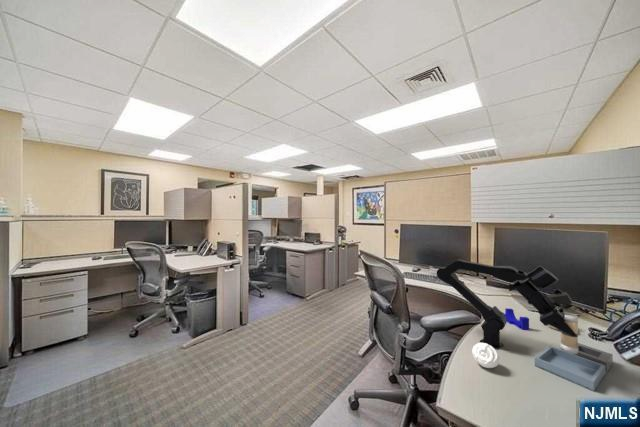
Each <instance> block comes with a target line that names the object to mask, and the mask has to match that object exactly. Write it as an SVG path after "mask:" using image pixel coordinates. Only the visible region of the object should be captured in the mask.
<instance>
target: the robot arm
mask: <svg viewBox="0 0 640 427" xmlns="http://www.w3.org/2000/svg"><path fill="white" fill-rule="evenodd" d="M459 270H464V271H470V272H475V273H479V274H483V275H488V276H492V277H493V278H494V277H495V278H497V279H498V280H501V281H504V282H506V283H507V282H508V291H509V292H512V291H514V290H516V291H517V293H519V294H520V295H521V296H522V297H523V298H524V299H525V300H526V301H527V303H528V304H529V305H531V306H533V308H535V309H536V310H537V313H538V314H539V315H540V316H539V322H540V323H542V325H543V326H545V327H548V326H547V325H551V326H553V327H555V328H557V329H559V330H558V331H560V332H561V331H563V332H565V333H567V334H569V335H571V336H573V337H575V336H577V335H576V334H575V332H574V331H573V330H572V329H571V328H570V326H569V325H568V324H567V323H566V322H565V321H564V314H561V312H564V308H563V307H562V306H563V305H572V304H573V300H572V298H571V297H570V295H569V293H568V292H567V291H562V290H561V289H554V290H553V293H551V294H547V293H545V292H543V291H541V290H539V289H541V288H542V289H546V288H547V287H550V286H551V285H553V284H555V283H557V282H558V281H559V278H558V277H557V276H555V274H553V272H551V271H550V270H547V269H546V268H544V267H543V266H542V265H539V266H537V267H536V268H535V269H533V270H532V271H529V272H527V271H523V270H519V269H518V268H516V267H514V266H512V265H491V264H490V265H489V264H484V263H481V262H480V263H478V262H473V261H468V260H464V259H461V258H460V259H457V260H454V262H452V263H451V264H449V265H447V266H442V267H440V268H437V270H436V276H437V278H438V279H439V280H441V281H442V282H443V283H445V284H447V285H449V286H450V287H453V288H454V290H455V291H456V292H457V293H459V294H460V295H461V296H462V297H463V298H464V299H465V300H466V301H467V302H469V304H470V305H471V306H473V307H474V308H475V309H476V310H477V311H478V312H479V314H480V315H481V317H482V318H483V320H484V321H483V322H482V323H481V325H480V327H481V329H482V332H483V333H482V334H483V336H482V339H480V340H479V343H487V344H488V345H491V346H492V347H493V348H494V349H495V350H498V349H499V348H501V347H503V346H504V345H505V344H504V343H502V342H501V334H500V333H501V332H500V331H502V330H504V329H505V327H506V326H507V325H506V324H507V323H508V322H507V320H506V317H505V316H504V314H505V313H504V312H502V311H501V310H500V309H499V308H498V307H497V306H496V305H494V306H490V305H488V304H487V303H486V302H485V301H483V300H482V299H481V298H480V297H479V296H478V295H476V294H475V293H474V292H473V291H472V290H471V289H470V288H469V287H468V286H467V285H465V283H463V282H462V281H461V279H459V277H458V275H457V274H456V272H457V271H459ZM453 288H452V289H453ZM538 288H539V289H538ZM558 307H561V308H558Z"/></svg>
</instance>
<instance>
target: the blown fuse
mask: <svg viewBox="0 0 640 427" xmlns="http://www.w3.org/2000/svg"><path fill="white" fill-rule="evenodd" d="M561 314H564V321H565V322H566V323H567V324H568V325H569V326H570V328H571V329H572V330H573V331H574V332H575V334H576V335H577V336H575V337H573V336H571V335H569V334H567V333H565V332H563V331H561V330H560V350H563V351H565V352H568V353H571V354H578V343H579V342H578V341H579V332H578V330H579V329H578V327H579V326H578V324H579V316H578V315H576V314H574V313H571V312H565V311H563V312H561Z"/></svg>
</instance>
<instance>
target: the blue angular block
mask: <svg viewBox="0 0 640 427" xmlns="http://www.w3.org/2000/svg"><path fill="white" fill-rule="evenodd" d="M504 312H505V313H504V316H505V317H506V320H507V322H506V323H508V324H510V325H514V326H515V327H517V328H518V329H520V330H522V331H530V318H529V317H527V316H519V320H518V318H516V315H515V311H514V309H512V308H507V307H505V311H504Z"/></svg>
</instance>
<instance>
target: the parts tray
mask: <svg viewBox="0 0 640 427" xmlns="http://www.w3.org/2000/svg"><path fill="white" fill-rule="evenodd" d="M534 366H535V367H536V368H538V369H541V370H543V371H546V372H548V373H550V374H553V375H554V376H557V377H559V378H562V379H564V380H567V381H569V382H571V383H572V384H574V385H578V386H580V387H582V388H585V389H587V390H588V391H592V392H595V391H596V389H597V388H598V387H599V385H600V383H601V382H602V381H603V379H604V378H605V376H606V374H607V372H605V365H602V364H599V363H596V362H594V361H591V360H588V359H585V358H582V357H580V356H577V355H574V354H571V353H568V352H565V351H563V350H562V349H561V348H556V347H554V346H551V345H549V346H548V347H546V348H545V349H544V350H542V351H541V352H540V353H538V355H536V356H535V357H534Z"/></svg>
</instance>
